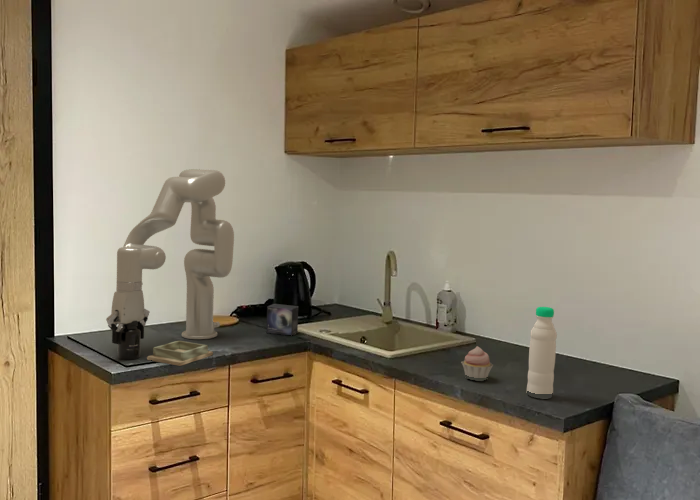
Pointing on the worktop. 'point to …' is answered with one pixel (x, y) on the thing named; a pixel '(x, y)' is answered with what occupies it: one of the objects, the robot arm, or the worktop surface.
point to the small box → (282, 319)
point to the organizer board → (179, 353)
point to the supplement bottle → (129, 341)
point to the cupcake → (477, 363)
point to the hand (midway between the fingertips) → (128, 340)
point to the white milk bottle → (542, 353)
